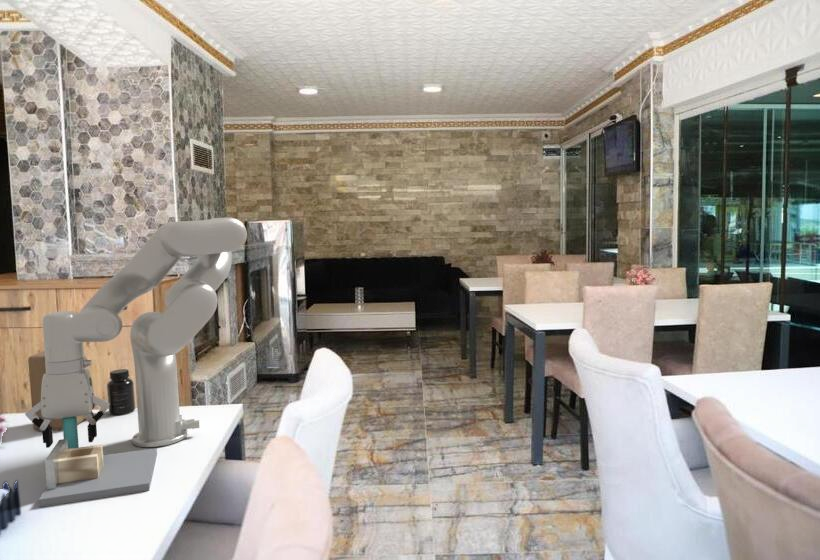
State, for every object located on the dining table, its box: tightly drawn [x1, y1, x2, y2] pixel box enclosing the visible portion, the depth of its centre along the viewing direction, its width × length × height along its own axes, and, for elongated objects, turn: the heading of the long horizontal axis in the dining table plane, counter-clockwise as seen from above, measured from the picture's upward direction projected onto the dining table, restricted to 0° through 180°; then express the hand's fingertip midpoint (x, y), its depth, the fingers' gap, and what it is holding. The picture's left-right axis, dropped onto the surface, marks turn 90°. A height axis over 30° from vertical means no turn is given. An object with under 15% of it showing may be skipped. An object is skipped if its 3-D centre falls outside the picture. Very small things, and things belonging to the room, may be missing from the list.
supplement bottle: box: [106, 368, 136, 416], centre depth 168 cm, size 7×7×12 cm
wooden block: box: [27, 350, 86, 432], centre depth 158 cm, size 10×10×20 cm
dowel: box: [62, 417, 80, 449], centre depth 133 cm, size 3×3×10 cm
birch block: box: [57, 444, 104, 483], centre depth 122 cm, size 7×7×4 cm
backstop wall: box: [44, 438, 68, 490], centre depth 120 cm, size 2×12×6 cm, turn 19°
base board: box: [38, 447, 158, 508], centre depth 123 cm, size 19×20×2 cm
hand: (70, 442), depth 133 cm, fingers open, 7 cm apart
